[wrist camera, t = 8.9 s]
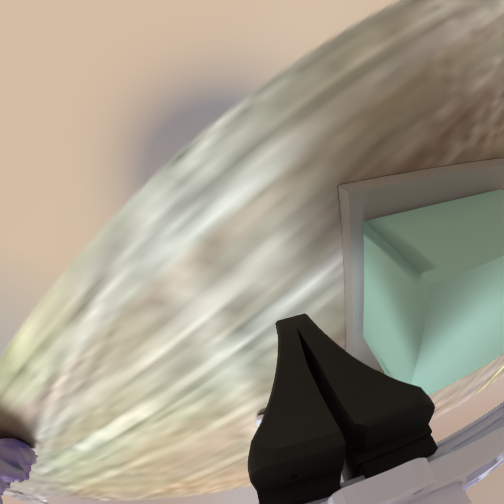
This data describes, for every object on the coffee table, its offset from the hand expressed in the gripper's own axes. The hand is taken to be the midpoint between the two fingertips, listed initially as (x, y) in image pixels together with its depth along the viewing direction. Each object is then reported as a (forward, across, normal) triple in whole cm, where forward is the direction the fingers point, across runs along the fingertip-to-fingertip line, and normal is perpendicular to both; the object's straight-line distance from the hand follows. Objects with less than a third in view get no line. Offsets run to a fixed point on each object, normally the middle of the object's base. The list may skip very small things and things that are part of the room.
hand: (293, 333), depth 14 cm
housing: (+2, -9, 0) cm, 9 cm away
